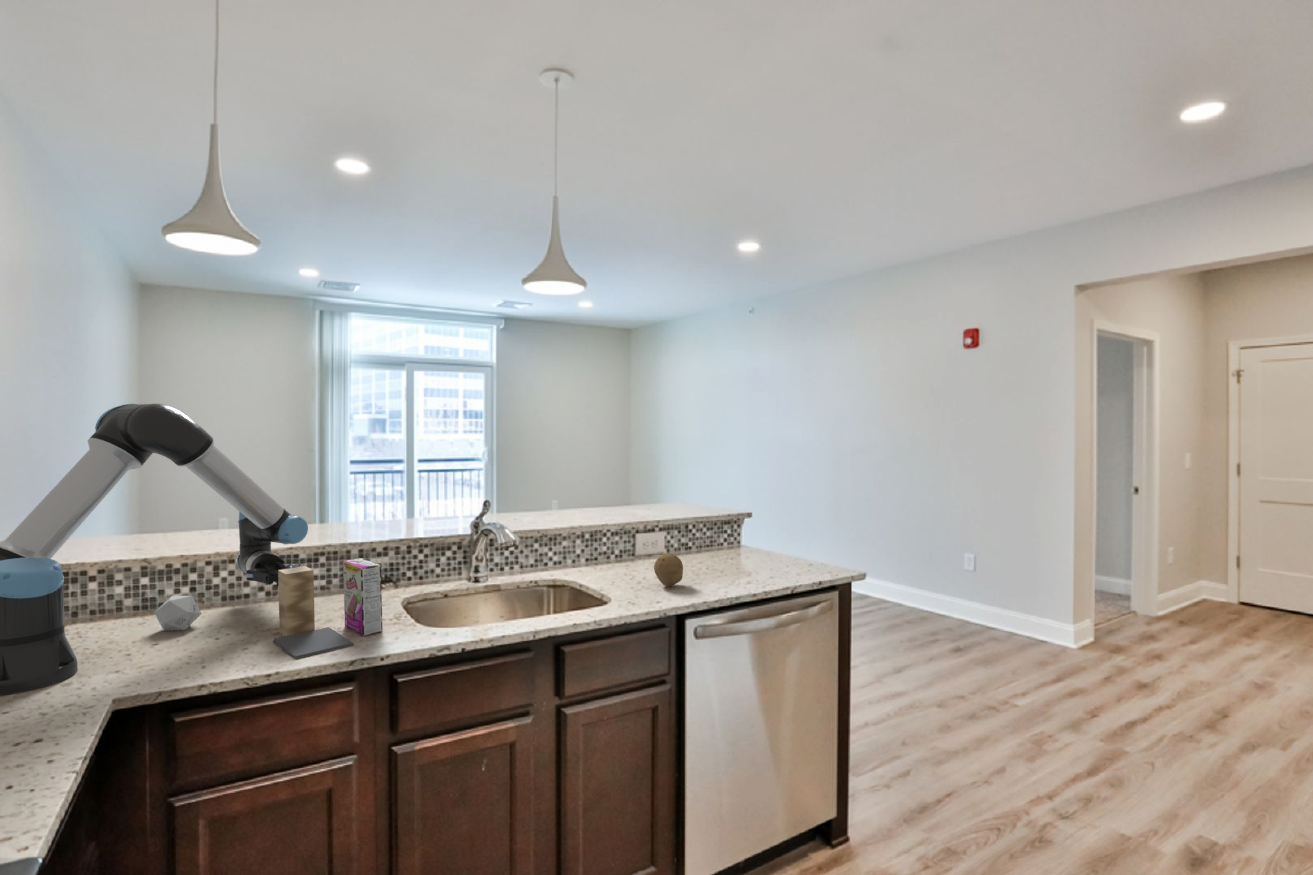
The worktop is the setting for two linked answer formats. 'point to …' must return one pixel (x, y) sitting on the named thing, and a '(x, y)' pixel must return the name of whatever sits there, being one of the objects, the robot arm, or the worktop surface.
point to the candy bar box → (362, 596)
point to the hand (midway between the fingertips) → (293, 581)
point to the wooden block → (296, 600)
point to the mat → (312, 642)
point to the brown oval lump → (668, 569)
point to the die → (177, 613)
